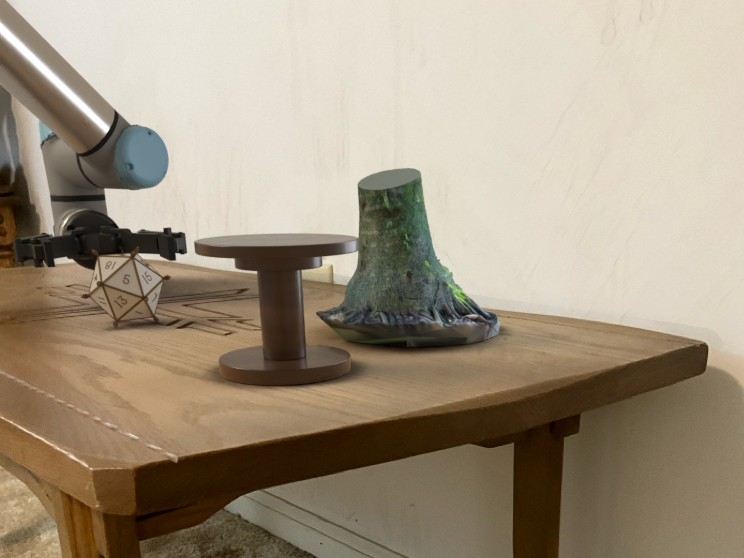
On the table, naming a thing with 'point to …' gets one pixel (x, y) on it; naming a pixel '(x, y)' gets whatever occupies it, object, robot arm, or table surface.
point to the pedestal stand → (281, 307)
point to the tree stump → (403, 275)
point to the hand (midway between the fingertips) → (112, 251)
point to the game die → (125, 286)
